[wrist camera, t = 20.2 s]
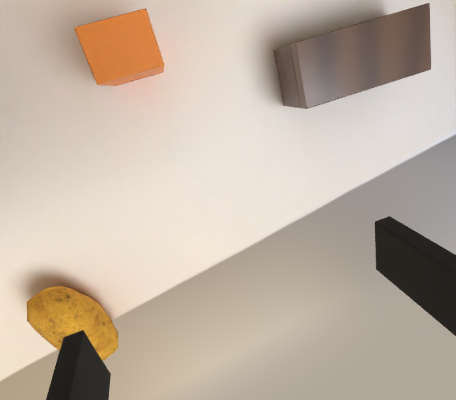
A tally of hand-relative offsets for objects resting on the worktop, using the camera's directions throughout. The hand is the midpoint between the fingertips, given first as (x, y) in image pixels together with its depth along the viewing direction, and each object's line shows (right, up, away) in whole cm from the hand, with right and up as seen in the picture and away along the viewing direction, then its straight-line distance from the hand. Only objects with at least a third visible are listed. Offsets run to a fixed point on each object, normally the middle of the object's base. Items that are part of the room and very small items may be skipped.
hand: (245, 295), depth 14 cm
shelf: (+13, +22, +28) cm, 38 cm away
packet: (-12, +21, +23) cm, 33 cm away
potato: (-23, -12, +32) cm, 41 cm away
